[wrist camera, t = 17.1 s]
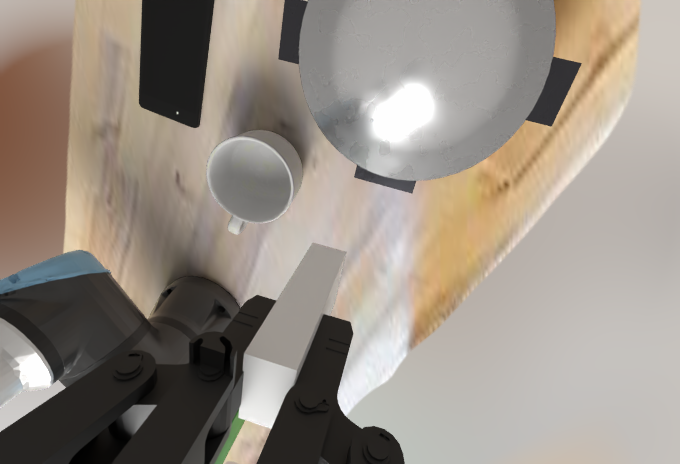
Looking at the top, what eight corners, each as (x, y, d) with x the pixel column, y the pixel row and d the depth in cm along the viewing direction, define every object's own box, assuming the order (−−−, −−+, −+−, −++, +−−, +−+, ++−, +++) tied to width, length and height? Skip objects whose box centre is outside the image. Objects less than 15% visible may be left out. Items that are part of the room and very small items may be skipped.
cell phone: (219, -24, 41) (214, -25, 40) (200, 128, 50) (196, 129, 49) (149, -50, 42) (143, -52, 41) (143, 105, 50) (138, 106, 50)
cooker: (299, 133, 47) (263, 154, 37) (331, -85, 36) (293, -135, 27) (493, 185, 44) (509, 223, 34) (588, -35, 33) (651, -70, 24)
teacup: (261, 106, 46) (230, 116, 39) (327, 160, 47) (309, 179, 40) (215, 185, 53) (182, 205, 46) (274, 230, 54) (251, 257, 47)
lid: (288, 146, 36) (282, 150, 35) (333, -180, 25) (327, -193, 24) (489, 202, 34) (491, 208, 32) (635, -130, 23) (647, -141, 22)
